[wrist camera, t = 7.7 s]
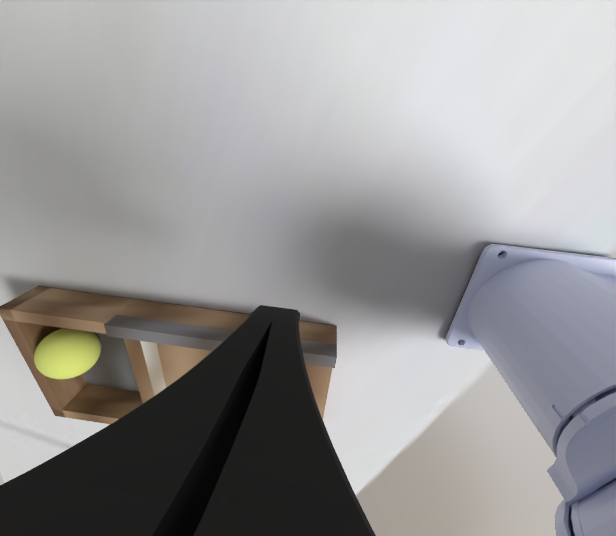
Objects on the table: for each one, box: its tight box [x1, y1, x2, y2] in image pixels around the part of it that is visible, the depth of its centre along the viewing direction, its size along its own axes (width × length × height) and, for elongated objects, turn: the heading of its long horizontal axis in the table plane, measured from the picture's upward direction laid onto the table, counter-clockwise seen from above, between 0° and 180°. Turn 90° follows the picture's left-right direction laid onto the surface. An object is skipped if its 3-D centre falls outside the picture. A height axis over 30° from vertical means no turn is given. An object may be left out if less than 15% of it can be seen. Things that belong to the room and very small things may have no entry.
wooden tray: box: [0, 286, 337, 424], centre depth 22 cm, size 24×12×3 cm, turn 85°
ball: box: [34, 328, 101, 379], centre depth 22 cm, size 4×4×4 cm
